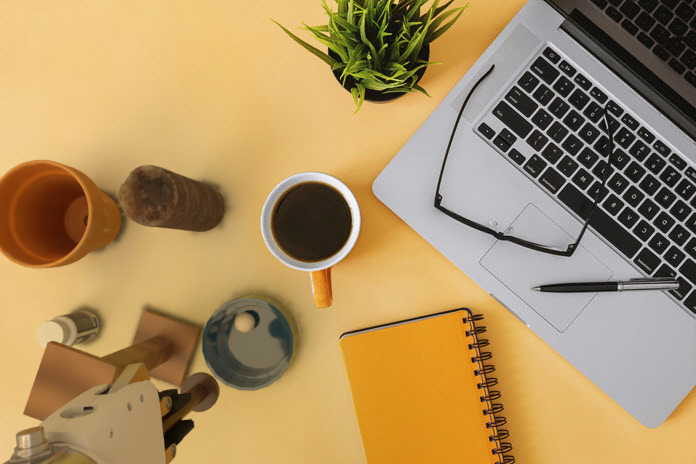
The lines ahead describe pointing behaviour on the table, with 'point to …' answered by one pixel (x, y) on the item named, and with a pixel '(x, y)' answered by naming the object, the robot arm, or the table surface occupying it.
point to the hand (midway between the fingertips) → (176, 411)
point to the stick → (194, 398)
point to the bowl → (250, 343)
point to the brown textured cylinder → (170, 200)
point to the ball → (244, 322)
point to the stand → (111, 363)
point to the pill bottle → (68, 329)
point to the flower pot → (53, 215)
